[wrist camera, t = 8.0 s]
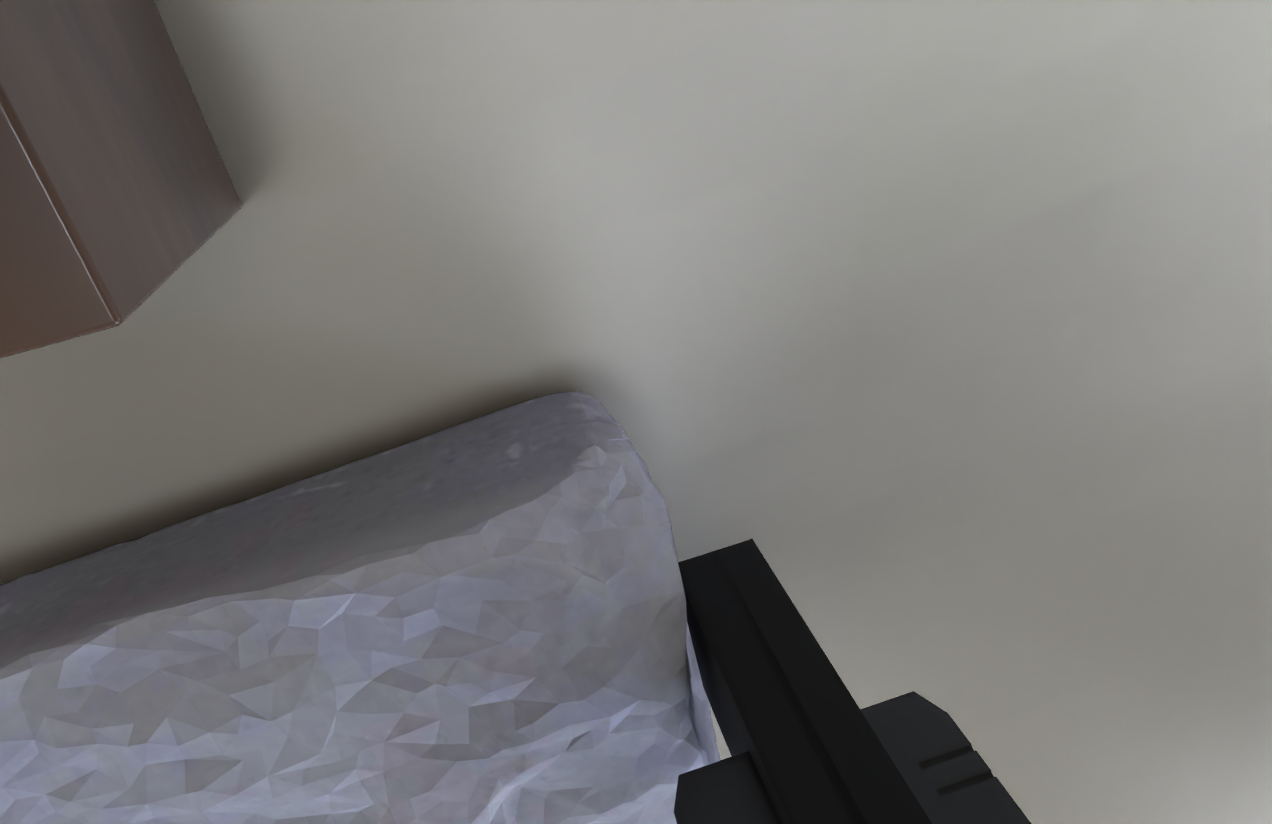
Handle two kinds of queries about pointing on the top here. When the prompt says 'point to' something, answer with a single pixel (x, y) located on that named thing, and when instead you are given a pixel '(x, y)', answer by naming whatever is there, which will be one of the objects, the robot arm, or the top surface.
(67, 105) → the walnut block
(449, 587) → the stone block
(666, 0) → the top surface
